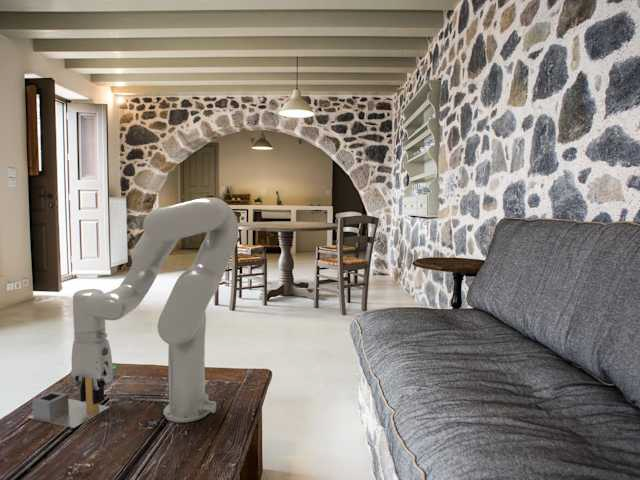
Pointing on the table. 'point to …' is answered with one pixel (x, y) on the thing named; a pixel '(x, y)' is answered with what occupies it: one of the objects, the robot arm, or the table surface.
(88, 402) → the tan square peg
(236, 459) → the table surface
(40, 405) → the grey square socket base
